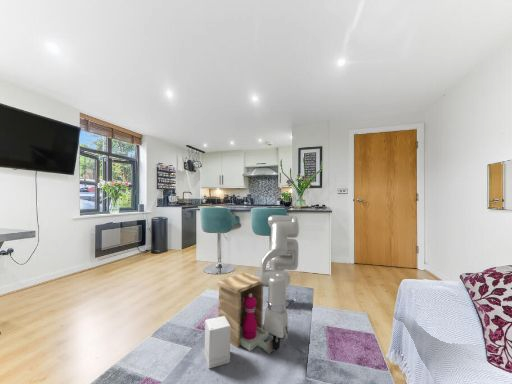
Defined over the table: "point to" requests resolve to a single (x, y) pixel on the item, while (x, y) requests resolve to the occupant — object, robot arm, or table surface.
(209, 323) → the supplement box
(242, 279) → the open wooden crate
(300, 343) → the table surface
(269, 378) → the table surface
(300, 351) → the table surface
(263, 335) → the tray
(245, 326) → the pepper mill
